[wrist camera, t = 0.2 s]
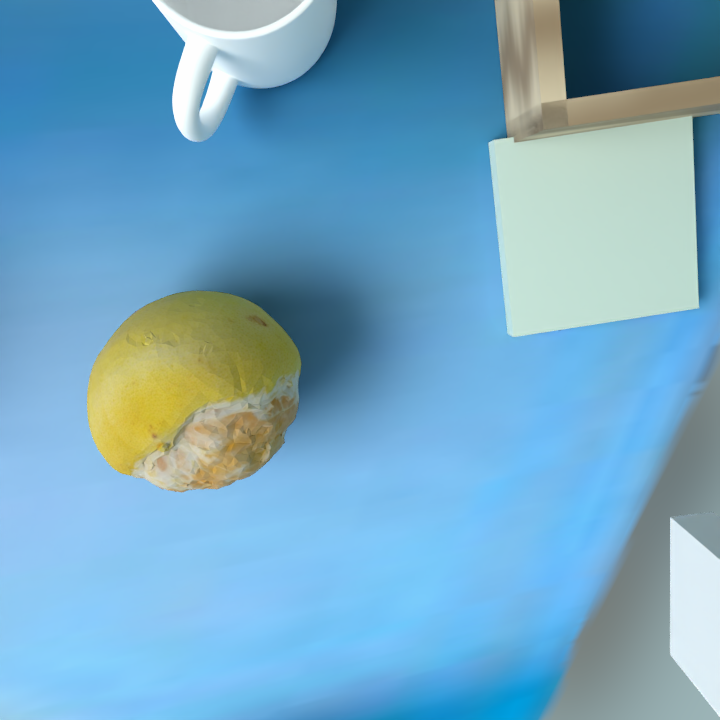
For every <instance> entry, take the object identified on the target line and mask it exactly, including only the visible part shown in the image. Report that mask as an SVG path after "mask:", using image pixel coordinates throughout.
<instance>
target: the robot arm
mask: <svg viewBox="0 0 720 720" xmlns="http://www.w3.org/2000/svg"><path fill="white" fill-rule="evenodd" d="M670 655H671V656H672V657H673V658H674V660H675V661H676V662H677V664H678V665H679V666H680V667H681V669H682V670H683V671H684V672H685V674H686V675H687V676H688V678H689V679H690V680H691V681H692V683H693V684H694V685H695V686H696V688H697V689H698V690H699V691H700V693H701V694H702V695H703V696H704V698H705V699H706V700H707V702H708V703H709V704H710V705H711V707H712V708H713V709H714V710H715V711H716V713H717V714H718V715H719V717H720V517H719V516H718V515H717V514H715V513H714V512H708V513H700V514H691V515H683V516H675V517H670Z"/></svg>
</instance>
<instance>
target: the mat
mask: <svg viewBox="0 0 720 720" xmlns="http://www.w3.org/2000/svg"><path fill="white" fill-rule="evenodd" d="M489 153H490V163H491V173H492V183H493V193H494V203H495V213H496V223H497V233H498V243H499V253H500V263H501V273H502V283H503V293H504V303H505V312H506V322H507V332H508V334H509V335H511V336H512V337H517V336H523V335H530V334H536V333H542V332H549V331H555V330H562V329H568V328H575V327H581V326H587V325H594V324H600V323H607V322H613V321H619V320H626V319H632V318H639V317H645V316H651V315H658V314H664V313H671V312H677V311H683V310H690V309H696V308H699V296H698V267H697V238H696V209H695V180H694V152H693V123H692V116H688V117H681V118H675V119H668V120H662V121H655V122H648V123H642V124H635V125H628V126H622V127H615V128H609V129H602V130H595V131H589V132H582V133H575V134H569V135H562V136H556V137H549V138H542V139H536V140H529V141H522V142H516V143H514V137H510V138H504V139H497V140H493V141H491V142H489Z"/></svg>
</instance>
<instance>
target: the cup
mask: <svg viewBox="0 0 720 720" xmlns="http://www.w3.org/2000/svg"><path fill="white" fill-rule="evenodd" d="M152 1H153V2H154V3H155V5H156V6H157V7H158V8H159V10H160V11H161V12H162V13H163V15H164V16H165V17H166V19H167V20H168V21H169V22H170V24H171V25H172V26H173V27H174V29H175V30H176V31H177V33H178V34H179V35H180V36H181V38H182V39H183V40H184V41H185V43H186V44H185V48H184V51H183V54H182V57H181V60H180V64H179V67H178V71H177V74H176V79H175V84H174V89H173V101H172V102H173V113H174V117H175V121H176V124H177V126H178V128H179V130H180V131H181V133H182V134H183V135H184V136H185V137H186V138H188V139H189V140H191V141H195V142H201V141H205V140H207V139H208V138H209V137H211V136H212V135H213V134H214V132H215V131H216V130H217V128H218V127H219V125H220V123H221V121H222V119H223V117H224V115H225V113H226V111H227V108H228V106H229V104H230V101H231V99H232V96H233V94H234V91H235V89H236V86H237V85H240V86H244V87H250V88H272V87H277V86H281V85H284V84H287V83H289V82H291V81H293V80H295V79H297V78H298V77H300V76H301V75H303V74H304V73H305V72H307V71H308V70H309V69H310V68H311V67H312V66H313V65H314V64H315V63H316V61H317V60H318V59H319V58H320V56H321V55H322V53H323V51H324V50H325V48H326V46H327V44H328V42H329V39H330V37H331V34H332V31H333V27H334V22H335V17H336V8H337V0H152ZM210 71H213V73H212V77H211V81H210V84H209V87H208V91H207V94H206V97H205V100H204V102H203V105H202V107H201V110H200V112H199V107H200V101H201V97H202V93H203V90H204V87H205V84H206V82H207V79H208V76H209V74H210Z"/></svg>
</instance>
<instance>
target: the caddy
mask: <svg viewBox="0 0 720 720" xmlns="http://www.w3.org/2000/svg"><path fill="white" fill-rule="evenodd" d="M495 10H496V21H497V31H498V42H499V53H500V63H501V74H502V84H503V95H504V106H505V116H506V127H507V138H510V137H514V143H516V142H522V141H529V140H536V139H542V138H549V137H556V136H562V135H569V134H575V133H582V132H589V131H595V130H602V129H609V128H615V127H622V126H628V125H635V124H642V123H648V122H655V121H662V120H668V119H675V118H681V117H688V116H692V118H693V117H700V116H706V115H713V114H720V76H719V77H712V78H705V79H699V80H692V81H685V82H679V83H672V84H665V85H659V86H652V87H645V88H639V89H632V90H625V91H619V92H612V93H605V94H599V95H592V96H585V97H579V98H572V99H566V87H565V73H564V60H563V46H562V33H561V20H560V6H559V0H495Z"/></svg>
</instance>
